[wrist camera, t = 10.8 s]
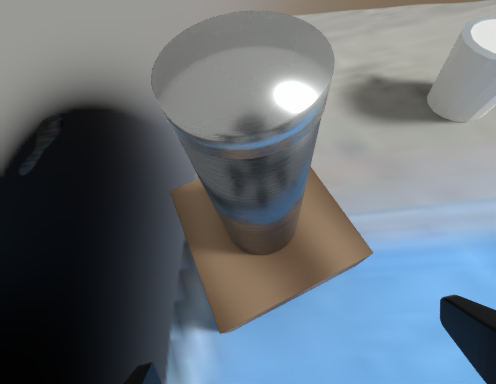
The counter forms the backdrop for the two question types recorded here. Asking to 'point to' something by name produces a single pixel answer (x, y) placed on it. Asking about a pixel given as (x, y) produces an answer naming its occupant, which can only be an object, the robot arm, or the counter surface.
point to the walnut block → (267, 266)
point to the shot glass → (468, 74)
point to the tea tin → (248, 116)
